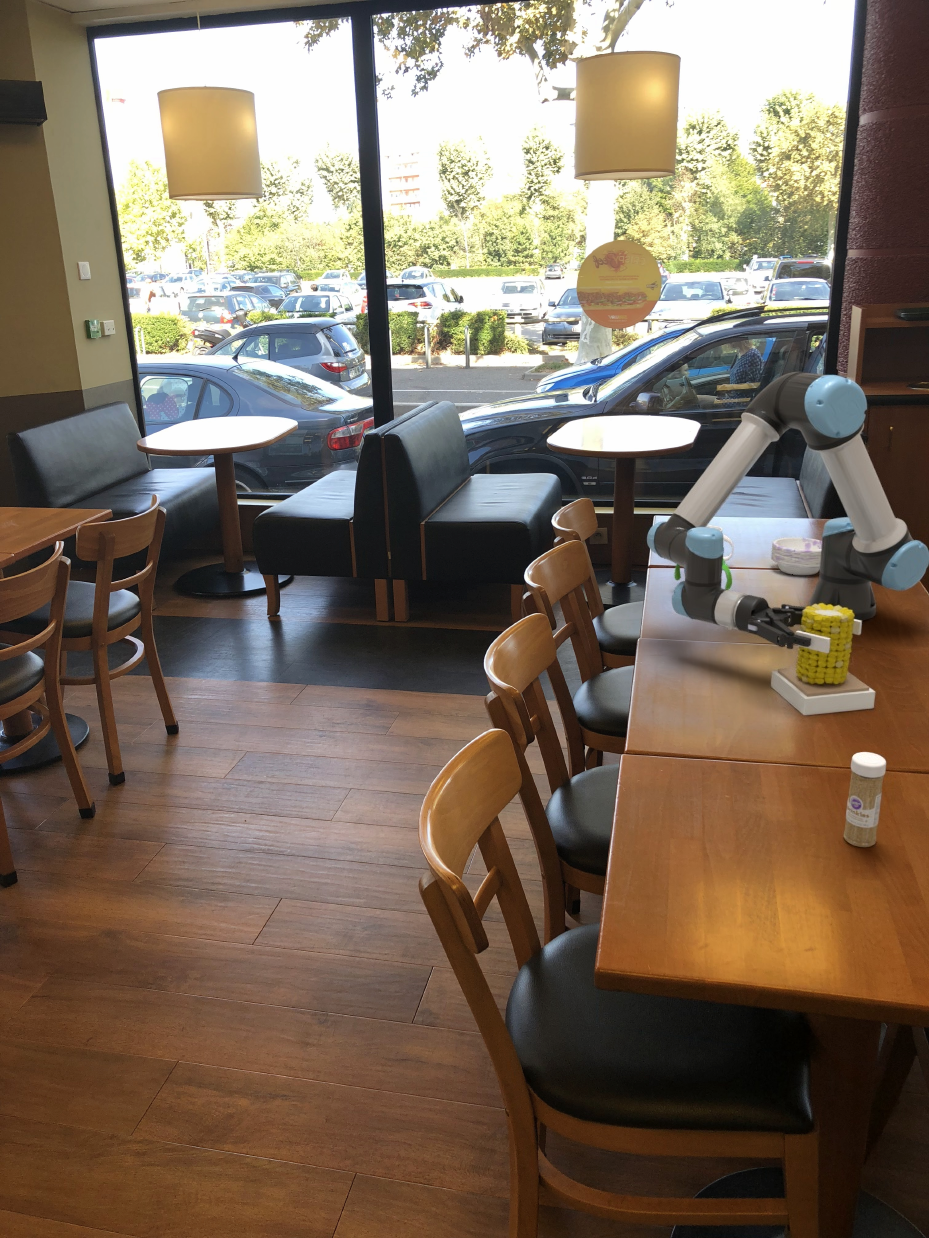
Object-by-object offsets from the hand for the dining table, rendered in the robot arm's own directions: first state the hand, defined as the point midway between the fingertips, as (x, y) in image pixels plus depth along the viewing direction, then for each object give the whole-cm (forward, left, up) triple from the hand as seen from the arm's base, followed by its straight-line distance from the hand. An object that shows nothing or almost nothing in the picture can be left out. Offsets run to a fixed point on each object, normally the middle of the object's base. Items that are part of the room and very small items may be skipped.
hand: (845, 636), depth 183 cm
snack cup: (+1, -67, -14) cm, 68 cm away
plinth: (+2, -3, -13) cm, 14 cm away
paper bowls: (-33, -82, -14) cm, 89 cm away
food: (+2, -3, -10) cm, 10 cm away
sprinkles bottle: (+21, +45, -14) cm, 52 cm away
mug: (-12, -93, -14) cm, 95 cm away
